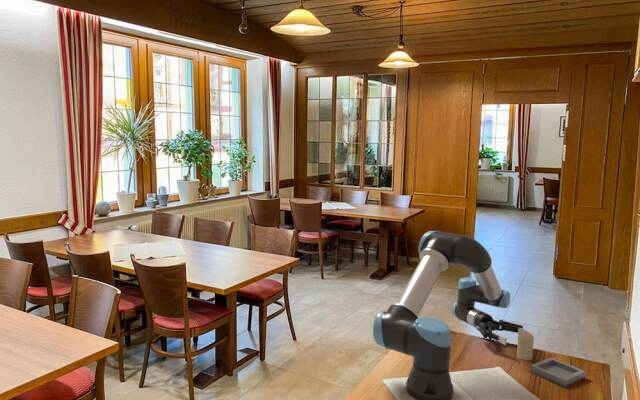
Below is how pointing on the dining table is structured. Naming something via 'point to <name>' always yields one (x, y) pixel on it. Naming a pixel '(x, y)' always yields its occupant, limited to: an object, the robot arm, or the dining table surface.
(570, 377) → the charcoal dish
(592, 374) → the dining table surface
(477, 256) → the robot arm
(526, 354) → the candle
